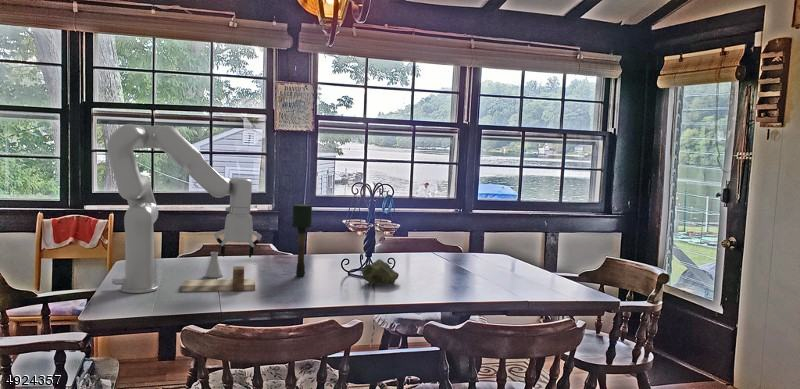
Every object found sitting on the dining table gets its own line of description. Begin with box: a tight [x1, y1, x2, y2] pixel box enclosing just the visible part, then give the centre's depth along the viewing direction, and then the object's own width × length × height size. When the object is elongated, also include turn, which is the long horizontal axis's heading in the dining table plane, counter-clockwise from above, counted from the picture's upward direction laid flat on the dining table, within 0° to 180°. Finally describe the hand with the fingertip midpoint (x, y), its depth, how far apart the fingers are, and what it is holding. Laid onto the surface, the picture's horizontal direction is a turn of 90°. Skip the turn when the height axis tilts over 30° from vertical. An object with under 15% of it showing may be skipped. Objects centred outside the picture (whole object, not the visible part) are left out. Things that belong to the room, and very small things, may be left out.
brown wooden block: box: [232, 265, 245, 292], centre depth 230 cm, size 4×14×8 cm, turn 14°
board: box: [181, 278, 256, 292], centre depth 228 cm, size 26×10×2 cm, turn 104°
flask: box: [204, 251, 223, 279], centre depth 246 cm, size 7×7×10 cm
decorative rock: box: [361, 258, 399, 286], centre depth 244 cm, size 15×16×10 cm
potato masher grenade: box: [291, 203, 313, 277], centre depth 253 cm, size 8×9×30 cm
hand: (236, 256), depth 227 cm, fingers open, 9 cm apart
